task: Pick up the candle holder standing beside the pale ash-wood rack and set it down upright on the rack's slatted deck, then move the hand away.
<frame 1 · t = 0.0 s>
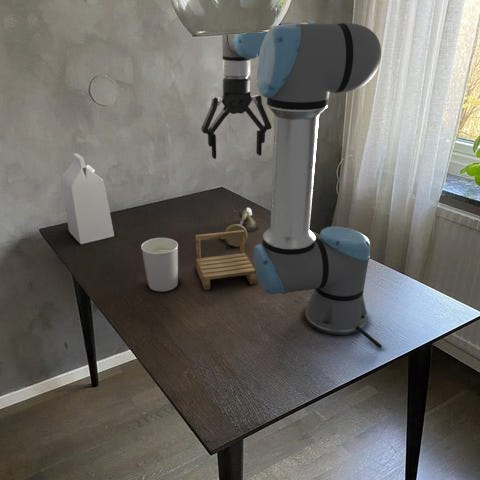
hand: (236, 155, 150), 28 cm above the table, tool pointing down, fingers open, 13 cm apart
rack: (225, 275, 147), on the table
mug: (234, 242, 166), on the table
milk: (91, 234, 171), on the table
candle holder: (163, 284, 143), on the table
eagle figurine: (245, 226, 177), on the table
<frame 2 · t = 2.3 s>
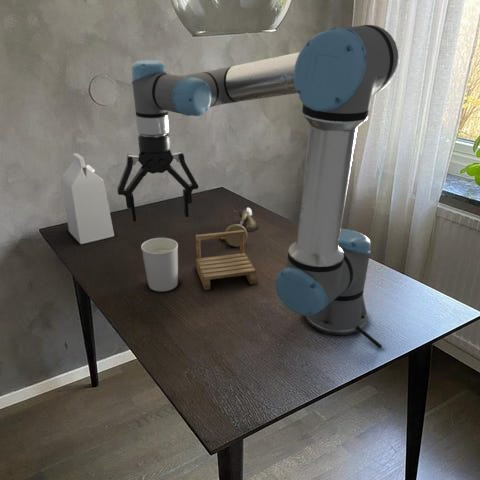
hand: (160, 217, 133), 19 cm above the table, tool pointing down, fingers open, 13 cm apart
nothing on the table moved.
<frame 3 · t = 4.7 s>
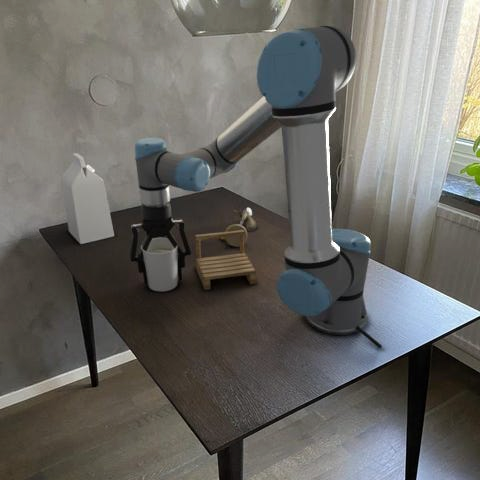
hand: (163, 279, 142), 1 cm above the table, tool pointing down, fingers closed on candle holder, 9 cm apart
candle holder: (163, 284, 143), on the table, touching gripper
everything else where it was.
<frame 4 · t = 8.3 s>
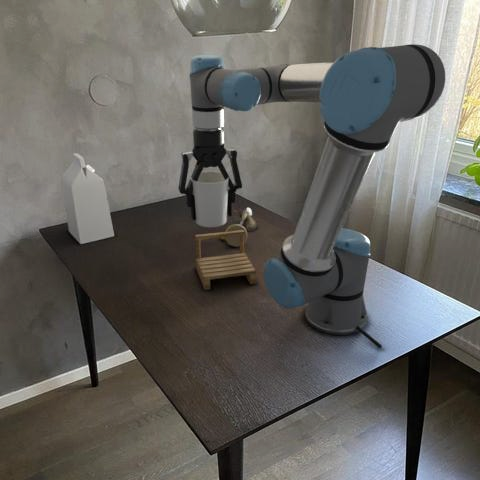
hand: (211, 216, 135), 19 cm above the table, tool pointing down, fingers closed on candle holder, 9 cm apart
candle holder: (211, 222, 136), point 17 cm above the table, touching gripper
everything else where it was.
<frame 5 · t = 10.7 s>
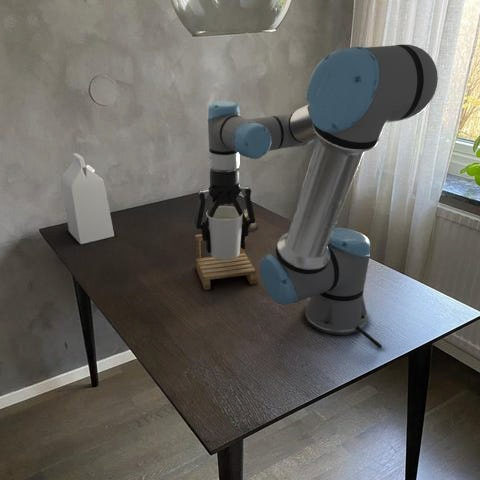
hand: (225, 248, 141), 9 cm above the table, tool pointing down, fingers closed on candle holder, 9 cm apart
candle holder: (225, 254, 142), point 7 cm above the table, touching gripper
everything else where it was.
when the fingers open (5 cm above the table, at t = 12.3 s): candle holder stays where it is, resting on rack.
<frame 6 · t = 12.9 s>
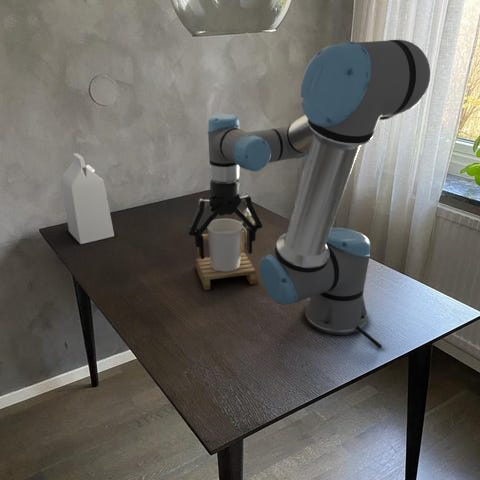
hand: (225, 254, 142), 7 cm above the table, tool pointing down, fingers open, 13 cm apart
candle holder: (225, 265, 144), point 4 cm above the table, touching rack
everything else where it was.
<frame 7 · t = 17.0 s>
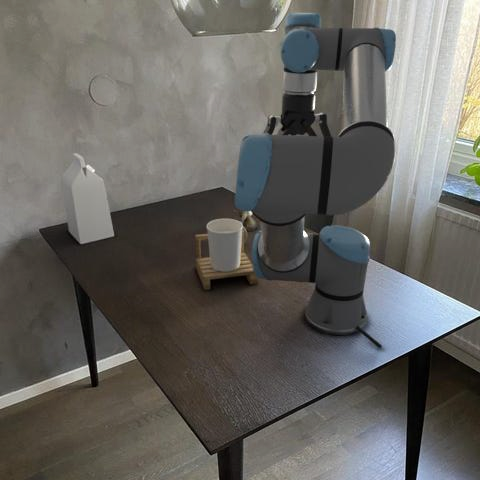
hand: (293, 183, 127), 29 cm above the table, tool pointing down, fingers open, 13 cm apart
nothing on the table moved.
at the end: candle holder inside the target area on the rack (0.5 cm from its centre), point 3.8 cm above the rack's base; candle holder tilted 0°; the gripper is holding nothing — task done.
